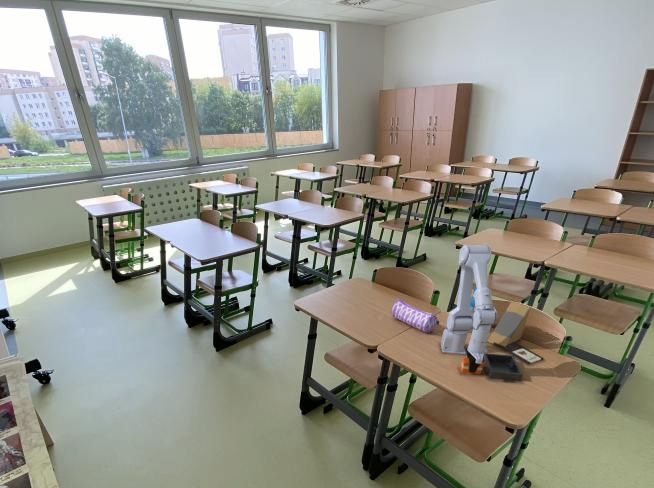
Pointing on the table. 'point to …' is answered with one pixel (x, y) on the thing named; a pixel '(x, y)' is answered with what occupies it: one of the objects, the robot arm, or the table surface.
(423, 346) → the table surface
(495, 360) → the tray
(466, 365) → the snack box
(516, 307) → the sandwich container
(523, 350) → the chocolate bar
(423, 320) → the pencil case
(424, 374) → the table surface
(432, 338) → the table surface
